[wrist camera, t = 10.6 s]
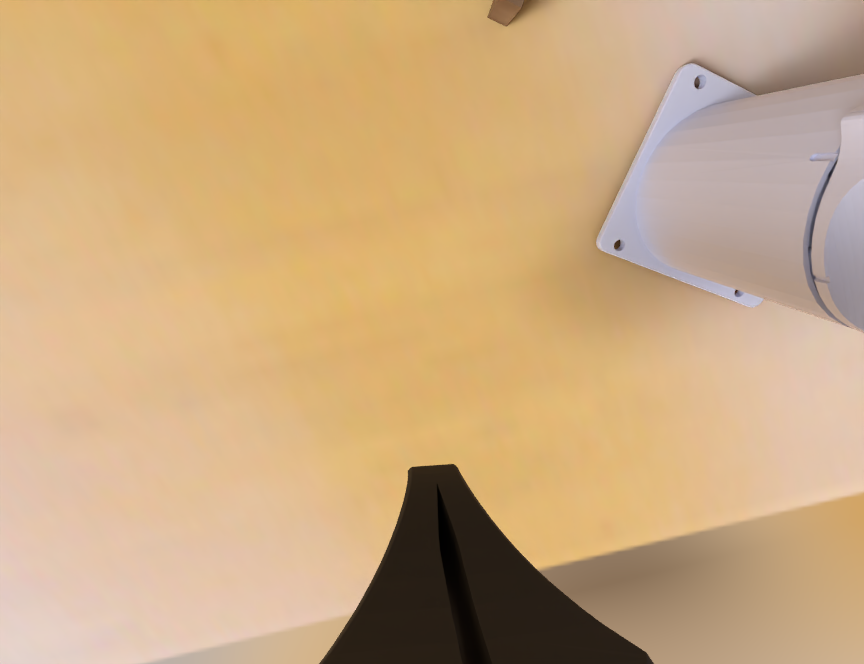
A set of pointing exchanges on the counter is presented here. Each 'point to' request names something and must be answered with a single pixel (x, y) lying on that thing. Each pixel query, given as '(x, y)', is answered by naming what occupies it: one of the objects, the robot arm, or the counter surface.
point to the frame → (504, 10)
